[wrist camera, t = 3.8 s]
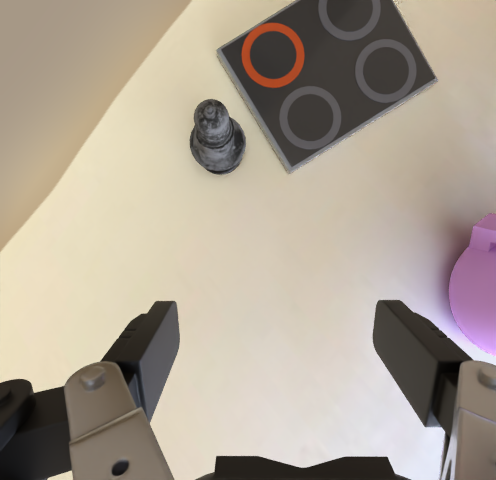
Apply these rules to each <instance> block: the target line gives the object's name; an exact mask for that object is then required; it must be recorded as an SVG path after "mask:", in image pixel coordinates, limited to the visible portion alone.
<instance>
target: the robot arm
mask: <svg viewBox="0 0 496 480" xmlns="http://www.w3.org/2000/svg"><path fill="white" fill-rule="evenodd" d="M179 342H180V334H179V323H178V312H177V304H176V302H175V301H156V302H155V303H154V304H153V306H152V307H151V309H150V310H149V312H148V313H147V314H140V315H139V316H138V317H136V318H135V319H133V320H132V321H131V322H130V323H129V324H128V325H127V327H126V328H125V329H124V331H123V332H122V333H121V335H120V336H119V338H118V339H117V340H116V341H115V343H114V344H113V345H112V347H111V348H110V349H109V351H108V352H107V353H106V354H105V356H104V357H103V358H102V360H101V361H100V362H97V363H93V364H90V365H88V366H85V367H83V368H81V369H80V370H78V371H77V372H75V373H74V374H73V375H72V376H71V377H70V378H69V379H68V380H67V382H66V384H65V386H62V387H58V388H54V389H49V390H45V391H41V392H36V393H34V392H33V388H32V385H31V383H30V382H29V381H27V380H24V379H14V380H9V381H5V382H2V383H0V480H47V479H48V478H49V477H52V476H55V475H58V474H61V473H65V472H68V471H71V470H72V473H73V480H174V478H173V475H172V473H171V471H170V469H169V466H168V464H167V462H166V460H165V457H164V455H163V453H162V451H161V448H160V446H159V444H158V442H157V439H156V437H155V435H154V433H153V431H152V428H151V426H150V421H151V419H152V416H153V414H154V411H155V409H156V406H157V403H158V401H159V398H160V396H161V393H162V391H163V388H164V386H165V383H166V380H167V378H168V375H169V373H170V370H171V368H172V365H173V363H174V360H175V357H176V355H177V352H178V349H179ZM373 344H374V347H375V350H376V352H377V354H378V355H379V357H380V358H381V360H382V361H383V363H384V364H385V366H386V367H387V369H388V371H389V372H390V374H391V375H392V377H393V378H394V380H395V381H396V383H397V384H398V386H399V388H400V389H401V391H402V392H403V394H404V395H405V397H406V398H407V400H408V401H409V403H410V405H411V406H412V408H413V409H414V411H415V412H416V414H417V415H418V417H419V418H420V420H421V422H422V423H423V425H424V426H425V427H442V428H443V429H444V431H445V436H444V440H443V447H442V455H441V463H440V472H439V480H496V365H493V364H490V363H486V362H482V361H474V360H473V359H472V358H471V357H470V356H468V355H467V354H466V353H465V352H464V351H463V350H462V349H461V348H460V347H459V346H457V345H456V344H455V343H454V342H453V341H452V340H451V339H450V338H447V336H446V335H445V334H444V333H443V332H442V331H441V330H439V328H437V327H436V326H435V325H434V324H433V323H432V322H431V321H430V320H428V319H426V318H425V317H423V316H421V315H419V314H417V313H413V312H412V311H411V310H410V309H409V308H408V307H407V306H406V305H405V304H404V303H403V302H402V301H400V300H379V301H378V302H377V305H376V312H375V320H374V329H373ZM196 480H410V479H408V478H405V477H403V476H400V475H397V474H395V473H394V471H393V468H392V466H391V464H390V462H389V460H388V457H342V458H338V459H335V460H332V461H328V462H325V463H321V464H318V465H314V466H311V467H307V468H299V467H295V466H292V465H288V464H284V463H281V462H277V461H273V460H270V459H266V458H263V457H259V456H216V464H215V472H213V473H210V474H207V475H205V476H202V477H200V478H198V479H196Z"/></svg>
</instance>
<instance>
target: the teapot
mask: <svg viewBox="0 0 496 480" xmlns="http://www.w3.org/2000/svg"><path fill="white" fill-rule="evenodd" d="M449 301H450V306H451V310H452V314H453V316H454V319H455V321H456V323H457V324H458V326H459V328H460V329H461V330H462V332H463V333H464V334H465V336H466V337H467V338H468V339H469V340H470V341H471V342H472V343H473V344H475V345H476V346H477V347H479V348H480V349H482V350H483V351H485V352H487V353H489V354H491V355H494V356H496V214H492V213H489V214H488V215H487V216H485V217H484V218H483V219H481V220H480V221H479V222H478V223H476V224H475V225H474V226H473V231H472V235H471V239H470V244H469V246H468V247H467V248H466V249H465V251H464V252H463V253H462V254H461V256H460V257H459V259H458V260H457V262H456V264H455V266H454V269H453V271H452V274H451V278H450V283H449Z"/></svg>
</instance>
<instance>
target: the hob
mask: <svg viewBox="0 0 496 480" xmlns="http://www.w3.org/2000/svg"><path fill="white" fill-rule="evenodd" d="M216 51H217V57H218V58H219V60H220V62H221V63H222V65H223V67H224V68H225V70H226V72H227V73H228V75H229V76H230V78H231V80H232V81H233V83H234V85H235V86H236V88H237V90H238V91H239V93H240V95H241V96H242V98H243V100H244V101H245V103H246V105H247V106H248V108H249V110H250V111H251V113H252V114H253V116H254V118H255V119H256V121H257V123H258V124H259V126H260V128H261V129H262V131H263V133H264V134H265V136H266V138H267V139H268V141H269V143H270V144H271V146H272V147H273V149H274V151H275V152H276V154H277V156H278V157H279V159H280V161H281V162H282V164H283V166H284V167H285V169H286V171H287V172H288V174H291V173H292V172H294V171H295V170H297V169H299V168H300V167H302V166H303V165H305V164H307V163H308V162H310V161H311V160H313V159H315V158H316V157H318V156H319V155H321V154H323V153H324V152H326V151H328V150H329V149H331V148H332V147H334V146H336V145H337V144H339V143H340V142H342V141H344V140H345V139H347V138H348V137H350V136H352V135H353V134H355V133H356V132H358V131H360V130H361V129H363V128H365V127H366V126H368V125H369V124H371V123H373V122H374V121H376V120H377V119H379V118H381V117H382V116H384V115H385V114H387V113H389V112H390V111H392V110H394V109H395V108H397V107H398V106H400V105H402V104H403V103H405V102H406V101H408V100H410V99H411V98H413V97H414V96H416V95H418V94H419V93H421V92H422V91H424V90H426V89H427V88H429V87H431V86H432V85H433V84H435V83H436V82H437V81H438V79H437V77H436V76H435V74H434V72H433V70H432V69H431V67H430V65H429V63H428V62H427V60H426V58H425V56H424V54H423V53H422V51H421V49H420V47H419V46H418V44H417V42H416V40H415V39H414V37H413V35H412V33H411V32H410V30H409V28H408V26H407V25H406V23H405V21H404V19H403V17H402V16H401V14H400V12H399V10H398V9H397V7H396V5H395V3H394V2H393V0H296V1H294V2H293V3H291V4H289V5H288V6H286V7H285V8H283V9H281V10H280V11H278V12H277V13H275V14H273V15H272V16H270V17H268V18H267V19H265V20H264V21H262V22H260V23H259V24H257V25H256V26H254V27H252V28H251V29H249V30H247V31H246V32H244V33H243V34H241V35H239V36H238V37H236V38H235V39H233V40H231V41H230V42H228V43H226V44H225V45H223V46H222V47H220V48H218V49H217V50H216Z"/></svg>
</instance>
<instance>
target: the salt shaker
mask: <svg viewBox="0 0 496 480" xmlns="http://www.w3.org/2000/svg"><path fill="white" fill-rule="evenodd" d="M194 122H195V126H194V128H193V130H192V132H191V136H190V149H191V152H192V155H193V156H194V158H195V159H196V161H197V162H198V163H199V164H201V165H202V166H203V167H204V168H205V169H206V170H208V171H210V172H212V173H214V174H226V173H230V172H231V171H233V170H234V169H235V168H236V167H237V166H238V165H239V163H240V161H241V159H242V156H243V154H244V151H245V147H246V140H245V135H244V132H243V130H242V128H241V126H240V125H239V124H238V123H237V122H236V121H235V120H234V119H232V118H230V117H229V114H228V111H227V109H226V107H225V106H224V105H223V104H222V103H221V102H219V101H218V100H214V99H208V100H205V101H203V102H201V103H200V104H199V105H198V106H197V108H196V110H195V113H194Z"/></svg>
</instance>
